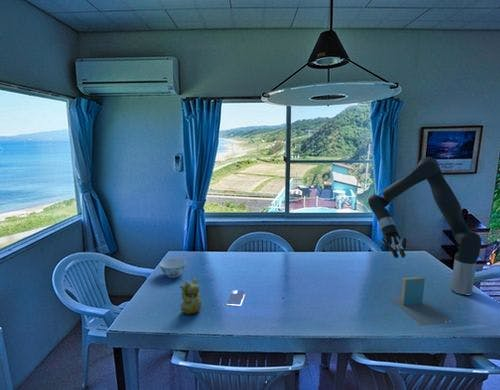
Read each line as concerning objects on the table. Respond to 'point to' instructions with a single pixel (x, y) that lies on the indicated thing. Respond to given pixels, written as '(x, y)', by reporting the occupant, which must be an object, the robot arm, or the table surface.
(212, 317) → the table surface
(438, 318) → the mat
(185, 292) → the decorative figurine
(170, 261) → the chinaware
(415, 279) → the tile
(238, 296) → the mobile phone
